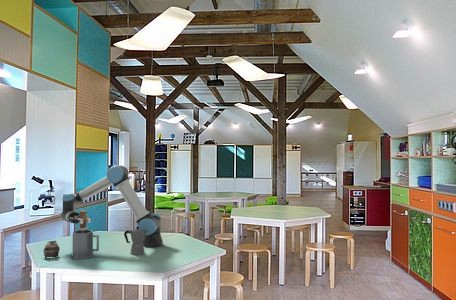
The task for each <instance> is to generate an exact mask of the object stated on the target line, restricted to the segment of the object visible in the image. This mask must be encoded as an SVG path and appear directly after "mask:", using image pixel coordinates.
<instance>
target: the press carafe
mask: <svg viewBox="0 0 456 300" xmlns="http://www.w3.org/2000/svg"><path fill="white" fill-rule="evenodd" d="M94 238H96V248H94ZM99 251H100V235H98V234H94V230H90V229H87V230H84V233H82V230H75V231H74V230H73V231H72V253H71V254H72V255H71V258H72V259H73V258H75V260H85V259H86V258H87V259H91V258H93V257H94V252H99Z"/></svg>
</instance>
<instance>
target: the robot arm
mask: <svg viewBox="0 0 456 300" xmlns="http://www.w3.org/2000/svg"><path fill="white" fill-rule="evenodd" d="M129 172H130V171H129V169H128V168H127V167H126V166H124V165H113V166H111V167H109V168H108V170H106V174H105V176H104V177H103V178H101V179H99V180H97V181H96V182H94V183H92V184H91V185H89V186H86V188H84V189H82V190H80V191H79V192H78V191H77V192H76V193H75V194H74V193H73V192H71V193H70V192H67V193H65V192H64V193H62V199H61V200H62V210H61V213H60V218H61V219H62V220H63V221H65V222H67V223H70V224H80V223H81V224H83V219H80V213H79V212H77V211H75V206H78V205H80V204H82V203H83V202H84V201H87V200H88V199H90V198H91V197H94V196H95V195H96V194H99V193H101V192H102V191H104V190H106V189H108V188H109V187H111V186H114V187H113V188H115V189H117V190H119V193H120V194H121V195H122V197H123V198H124V200H125V202H126V204H127V205H128V207H129V209H130V210H131V212H132V213H133V215H134V217H135V223H136V225H137V226H138V227H139V229H141V230H146V231H148V232H147V233H146V234H145V236H144V240H143V246H144V248H145V247H146V248H157V247H162V246H163V245H164V240H163V237H162V234H161V223H162V222H161V220H162V217H161V213H151V211H148V210H147V209H146V207H145V205H144V204H143V202H142V201H141V199H140V197H139V195H138V194H137V193H136V191H135V189H134V188H133V186H132V185H131V183H130V180H131V179H130V177H129ZM90 223H91V217H90V216H88V215H86V224H90Z"/></svg>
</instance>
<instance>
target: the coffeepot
mask: <svg viewBox="0 0 456 300" xmlns="http://www.w3.org/2000/svg"><path fill="white" fill-rule="evenodd" d="M147 232H148V231H146V230H141V229H139V227H138V225H137V226H136V229H132V230H131V229H130V230H125V231H124V233H123V235H124V239H125V241H126V243H127V244H130V243H131V242H132V244H131V248H130V252H129V254H130V255H132V256H140V255H141V256H142V255H144V254H145V252H146V251H145V247H144V246H143V240H144V236H145V234H146V233H147ZM128 234H130V237H131V241H129V238H128Z"/></svg>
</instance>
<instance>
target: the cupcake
mask: <svg viewBox="0 0 456 300" xmlns="http://www.w3.org/2000/svg"><path fill="white" fill-rule="evenodd" d="M59 253H60V246H59V244H58V242H57V241H56V240H52V241H47V243H46V244H45V246H44V248H43V256H45V257H56V256H58V257H59ZM45 257H44V258H45ZM56 258H57V257H56Z"/></svg>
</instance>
